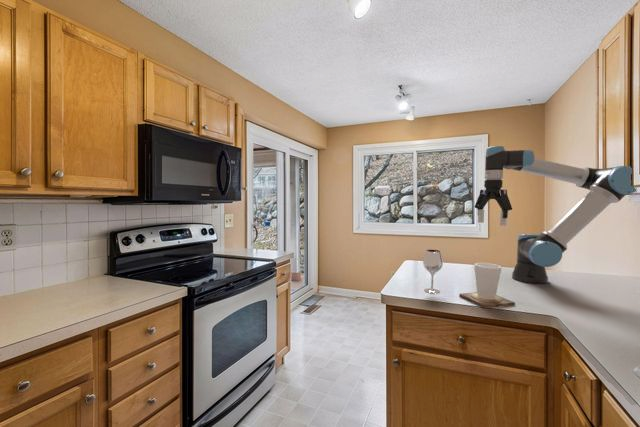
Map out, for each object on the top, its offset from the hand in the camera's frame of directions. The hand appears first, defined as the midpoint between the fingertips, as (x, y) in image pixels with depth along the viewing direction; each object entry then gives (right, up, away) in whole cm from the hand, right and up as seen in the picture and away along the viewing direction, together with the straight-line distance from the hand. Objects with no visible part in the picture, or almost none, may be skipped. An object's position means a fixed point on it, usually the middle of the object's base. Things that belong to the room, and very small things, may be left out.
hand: (491, 224), depth 151 cm
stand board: (-15, -30, -24) cm, 41 cm away
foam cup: (-15, -29, -24) cm, 40 cm away
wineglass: (-33, -29, -12) cm, 46 cm away
